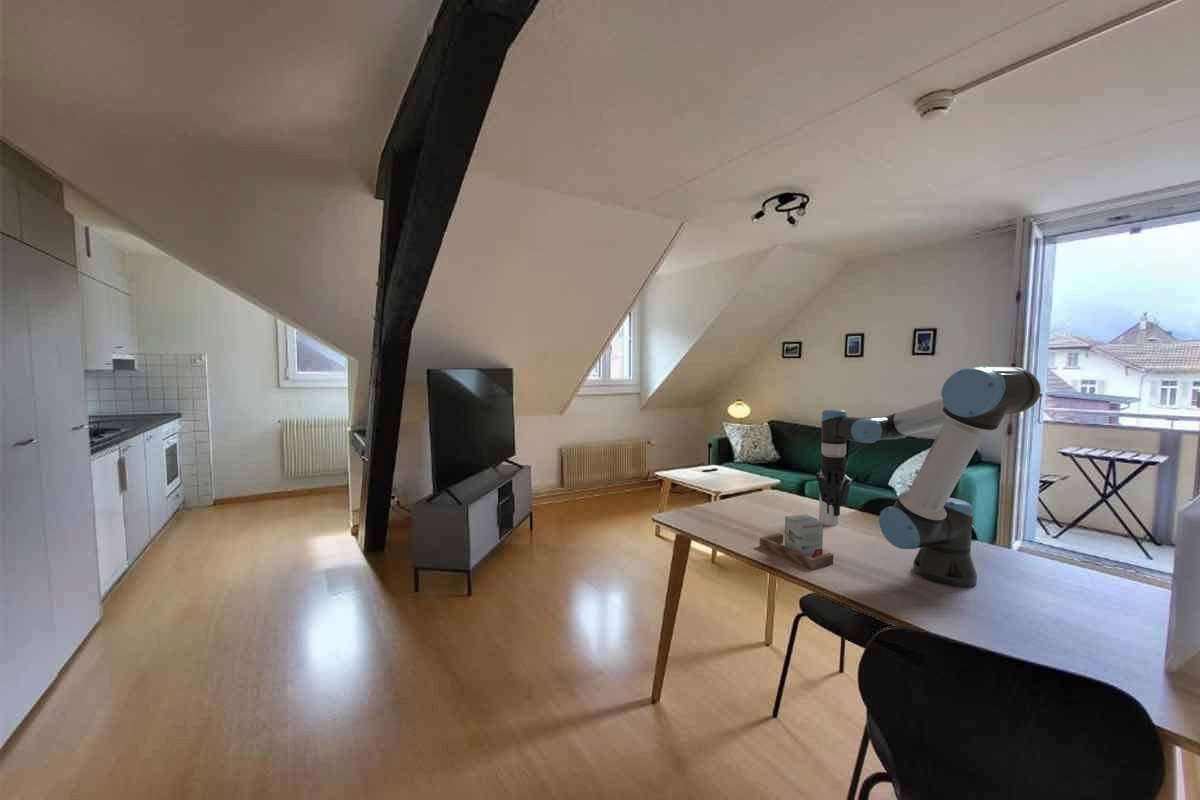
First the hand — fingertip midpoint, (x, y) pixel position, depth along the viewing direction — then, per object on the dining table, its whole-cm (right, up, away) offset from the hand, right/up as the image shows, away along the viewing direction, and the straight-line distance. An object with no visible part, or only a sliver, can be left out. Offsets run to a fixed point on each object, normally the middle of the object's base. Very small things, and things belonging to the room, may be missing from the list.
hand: (833, 524), depth 162 cm
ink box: (-13, -8, -5) cm, 16 cm away
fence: (-16, -8, -7) cm, 19 cm away
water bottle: (+10, -6, +22) cm, 25 cm away
